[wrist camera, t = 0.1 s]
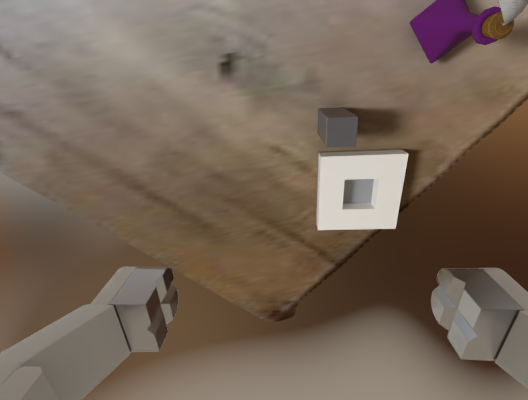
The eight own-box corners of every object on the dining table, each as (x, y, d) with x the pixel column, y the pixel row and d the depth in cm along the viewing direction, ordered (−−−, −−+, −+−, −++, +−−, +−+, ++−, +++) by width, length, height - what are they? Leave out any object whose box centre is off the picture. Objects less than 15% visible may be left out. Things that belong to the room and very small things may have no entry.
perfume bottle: (464, 32, 46) (567, 12, 29) (421, 64, 48) (495, 62, 32) (445, -11, 43) (544, -58, 27) (400, 25, 46) (468, 1, 29)
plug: (318, 108, 52) (328, 117, 42) (342, 107, 52) (358, 116, 42) (317, 132, 54) (326, 147, 44) (341, 131, 54) (355, 146, 44)
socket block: (318, 151, 55) (320, 156, 52) (401, 148, 54) (408, 153, 51) (316, 221, 62) (318, 229, 59) (389, 220, 61) (395, 228, 58)
